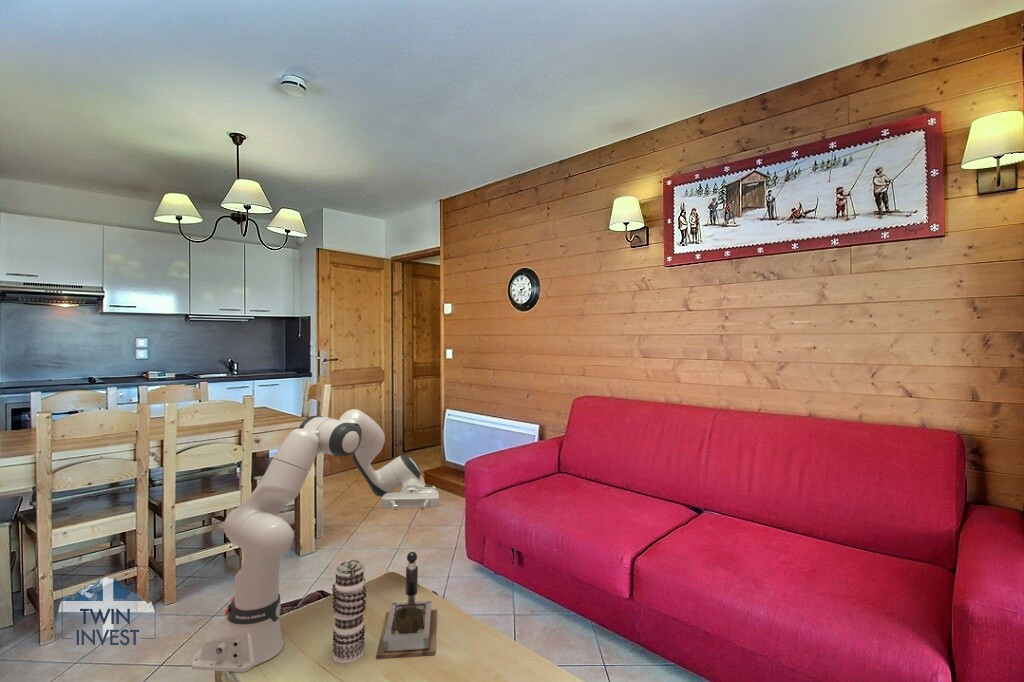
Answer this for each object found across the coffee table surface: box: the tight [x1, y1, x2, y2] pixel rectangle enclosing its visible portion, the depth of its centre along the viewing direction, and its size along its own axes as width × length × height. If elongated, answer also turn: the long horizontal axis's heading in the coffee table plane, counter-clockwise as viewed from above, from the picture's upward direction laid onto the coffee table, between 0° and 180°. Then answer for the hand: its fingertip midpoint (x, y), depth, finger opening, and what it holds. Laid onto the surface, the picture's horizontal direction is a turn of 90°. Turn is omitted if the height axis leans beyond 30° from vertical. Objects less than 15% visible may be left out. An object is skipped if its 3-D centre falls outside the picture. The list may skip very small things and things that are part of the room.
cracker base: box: [375, 606, 438, 660], centre depth 146 cm, size 16×22×6 cm
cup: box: [396, 605, 421, 634], centre depth 144 cm, size 8×7×8 cm
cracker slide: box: [383, 551, 432, 652], centre depth 147 cm, size 12×21×19 cm, turn 7°
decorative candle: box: [331, 559, 367, 664], centre depth 137 cm, size 9×9×25 cm
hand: (409, 507), depth 166 cm, fingers open, 8 cm apart
